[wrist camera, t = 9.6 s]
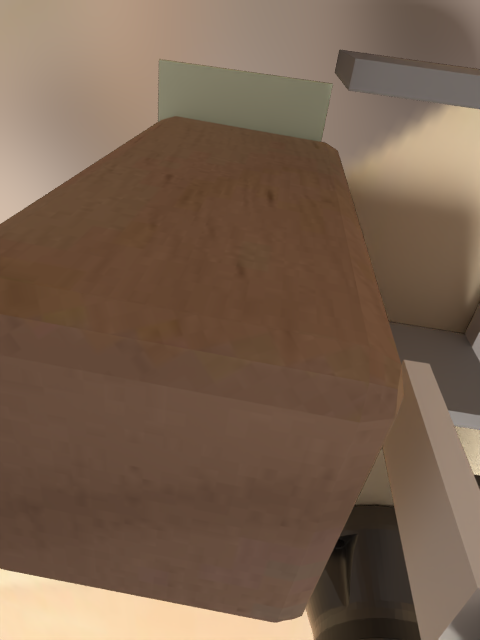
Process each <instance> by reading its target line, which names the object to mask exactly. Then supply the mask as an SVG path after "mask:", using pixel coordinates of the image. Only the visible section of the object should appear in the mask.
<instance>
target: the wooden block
mask: <svg viewBox="0 0 480 640" xmlns="http://www.w3.org/2000/svg"><path fill="white" fill-rule="evenodd" d="M403 397H404V389H403V376H402V365H401V362H400V358H399V355H398V351H397V348H396V345H395V341H394V338H393V335H392V331H391V328H390V325H389V321H388V318H387V315H386V311H385V308H384V304H383V301H382V298H381V294H380V291H379V288H378V284H377V281H376V278H375V274H374V271H373V267H372V264H371V261H370V257H369V254H368V251H367V247H366V244H365V241H364V237H363V234H362V231H361V227H360V224H359V220H358V217H357V214H356V210H355V207H354V204H353V200H352V197H351V194H350V190H349V187H348V183H347V180H346V177H345V173H344V170H343V167H342V163H341V160H340V157H339V154H338V151H337V150H336V149H334V148H333V147H331V146H330V145H328V144H327V143H324V142H319V141H313V140H308V139H302V138H296V137H291V136H285V135H279V134H274V133H268V132H263V131H257V130H251V129H246V128H240V127H234V126H229V125H223V124H217V123H212V122H206V121H200V120H195V119H189V118H184V117H178V116H173V117H170V118H166V119H162V120H160V121H159V122H157V123H156V124H154V125H153V126H151V127H150V128H148V129H147V130H145V131H143V132H142V133H141V134H139V135H137V136H136V137H134V138H133V139H131V140H130V141H128V142H126V143H125V144H123V145H122V146H120V147H119V148H117V149H116V150H114V151H113V152H111V153H110V154H108V155H106V156H105V157H104V158H102V159H100V160H99V161H97V162H96V163H94V164H92V165H91V166H89V167H88V168H86V169H85V170H83V171H82V172H80V173H79V174H77V175H75V176H74V177H72V178H71V179H69V180H68V181H66V182H65V183H63V184H62V185H60V186H58V187H57V188H55V189H54V190H52V191H51V192H49V193H48V194H46V195H45V196H43V197H42V198H40V199H38V200H37V201H35V202H34V203H32V204H31V205H29V206H28V207H26V208H25V209H23V210H22V211H20V212H18V213H17V214H16V215H14V216H12V217H11V218H9V219H8V220H6V221H5V222H3V223H1V224H0V568H1V569H4V570H9V571H14V572H19V573H24V574H29V575H34V576H39V577H44V578H50V579H55V580H60V581H65V582H70V583H75V584H80V585H85V586H90V587H95V588H101V589H106V590H111V591H116V592H121V593H126V594H131V595H136V596H141V597H146V598H152V599H157V600H162V601H167V602H172V603H177V604H182V605H187V606H192V607H197V608H203V609H208V610H213V611H218V612H223V613H228V614H233V615H238V616H243V617H248V618H254V619H259V620H264V621H269V622H280V621H284V620H291V619H295V618H297V617H300V616H302V614H303V612H304V610H305V608H306V606H307V604H308V602H309V599H310V597H311V595H312V593H313V591H314V589H315V587H316V585H317V583H318V580H319V578H320V576H321V574H322V572H323V570H324V568H325V566H326V564H327V562H328V559H329V557H330V555H331V553H332V551H333V549H334V547H335V545H336V543H337V541H338V538H339V536H340V534H341V532H342V530H343V528H344V526H345V524H346V522H347V519H348V517H349V515H350V513H351V511H352V509H353V507H354V505H355V503H356V501H357V498H358V496H359V494H360V492H361V490H362V488H363V486H364V484H365V482H366V480H367V477H368V475H369V473H370V471H371V469H372V467H373V465H374V463H375V461H376V458H377V456H378V454H379V452H380V450H381V448H382V446H383V444H384V442H385V440H386V437H387V435H388V433H389V431H390V429H391V427H392V425H393V423H394V421H395V419H396V416H397V413H398V410H399V408H400V405H401V402H402V399H403Z"/></svg>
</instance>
